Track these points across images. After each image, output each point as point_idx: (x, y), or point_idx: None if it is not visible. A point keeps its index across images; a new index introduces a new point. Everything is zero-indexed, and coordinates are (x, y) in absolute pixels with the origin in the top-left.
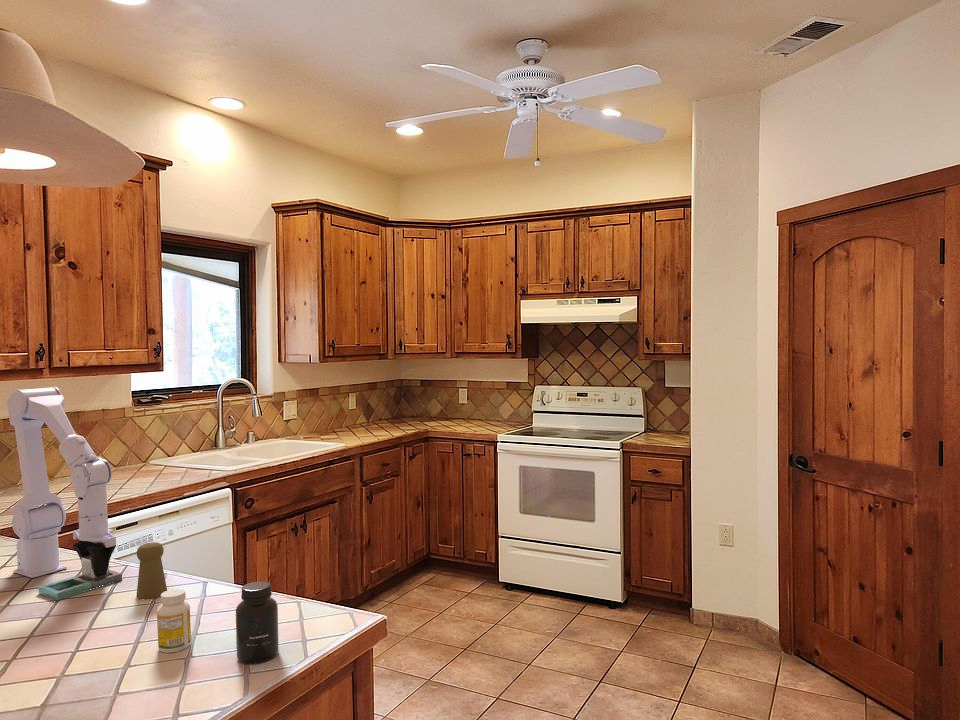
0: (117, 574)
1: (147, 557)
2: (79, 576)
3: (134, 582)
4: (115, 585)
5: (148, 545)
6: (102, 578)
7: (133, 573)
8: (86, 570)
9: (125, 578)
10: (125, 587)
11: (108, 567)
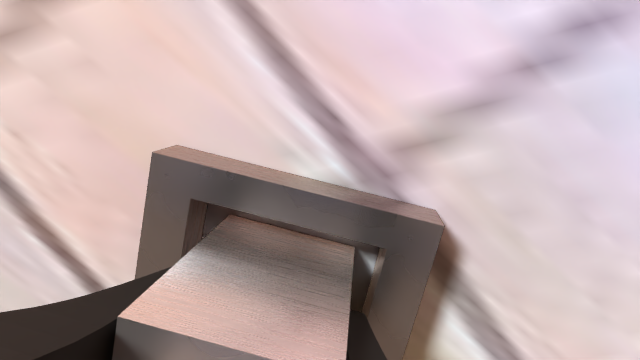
0: (427, 256)
1: None
2: None
3: (581, 228)
4: (476, 308)
5: None
6: None
7: (400, 57)
8: None
9: (430, 172)
10: (590, 326)
11: (349, 301)
